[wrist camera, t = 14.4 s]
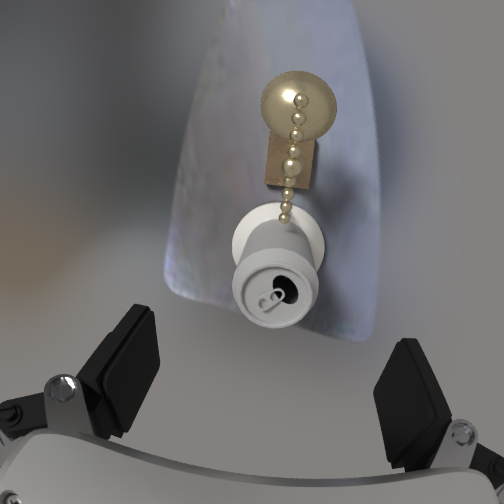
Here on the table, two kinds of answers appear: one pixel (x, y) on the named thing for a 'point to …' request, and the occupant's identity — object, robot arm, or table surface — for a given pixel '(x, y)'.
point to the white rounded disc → (273, 212)
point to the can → (276, 275)
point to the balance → (295, 129)
